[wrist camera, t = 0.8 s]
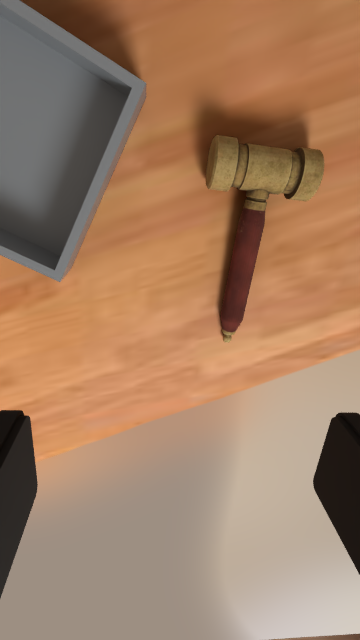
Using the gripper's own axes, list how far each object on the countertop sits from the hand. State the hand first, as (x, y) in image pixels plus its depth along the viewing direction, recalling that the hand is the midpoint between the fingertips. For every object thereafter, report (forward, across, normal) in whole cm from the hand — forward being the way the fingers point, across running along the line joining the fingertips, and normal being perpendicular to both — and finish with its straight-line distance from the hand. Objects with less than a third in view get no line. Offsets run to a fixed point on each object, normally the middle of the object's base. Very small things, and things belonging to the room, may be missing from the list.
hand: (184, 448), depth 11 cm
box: (+28, +13, -10) cm, 32 cm away
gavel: (+29, -9, -1) cm, 30 cm away
